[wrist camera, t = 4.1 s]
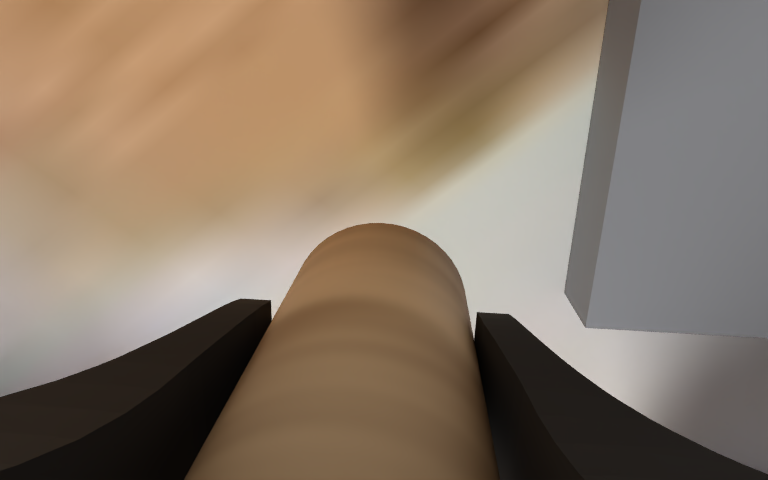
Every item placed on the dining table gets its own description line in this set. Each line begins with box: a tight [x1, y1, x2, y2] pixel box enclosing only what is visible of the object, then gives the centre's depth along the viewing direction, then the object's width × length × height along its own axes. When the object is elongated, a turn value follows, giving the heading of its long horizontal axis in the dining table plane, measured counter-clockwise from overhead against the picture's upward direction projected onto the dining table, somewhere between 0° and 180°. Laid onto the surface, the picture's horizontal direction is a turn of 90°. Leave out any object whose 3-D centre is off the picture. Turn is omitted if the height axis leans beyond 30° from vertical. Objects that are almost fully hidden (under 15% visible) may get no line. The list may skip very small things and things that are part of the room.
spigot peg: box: [184, 223, 500, 480], centre depth 9 cm, size 4×4×8 cm
